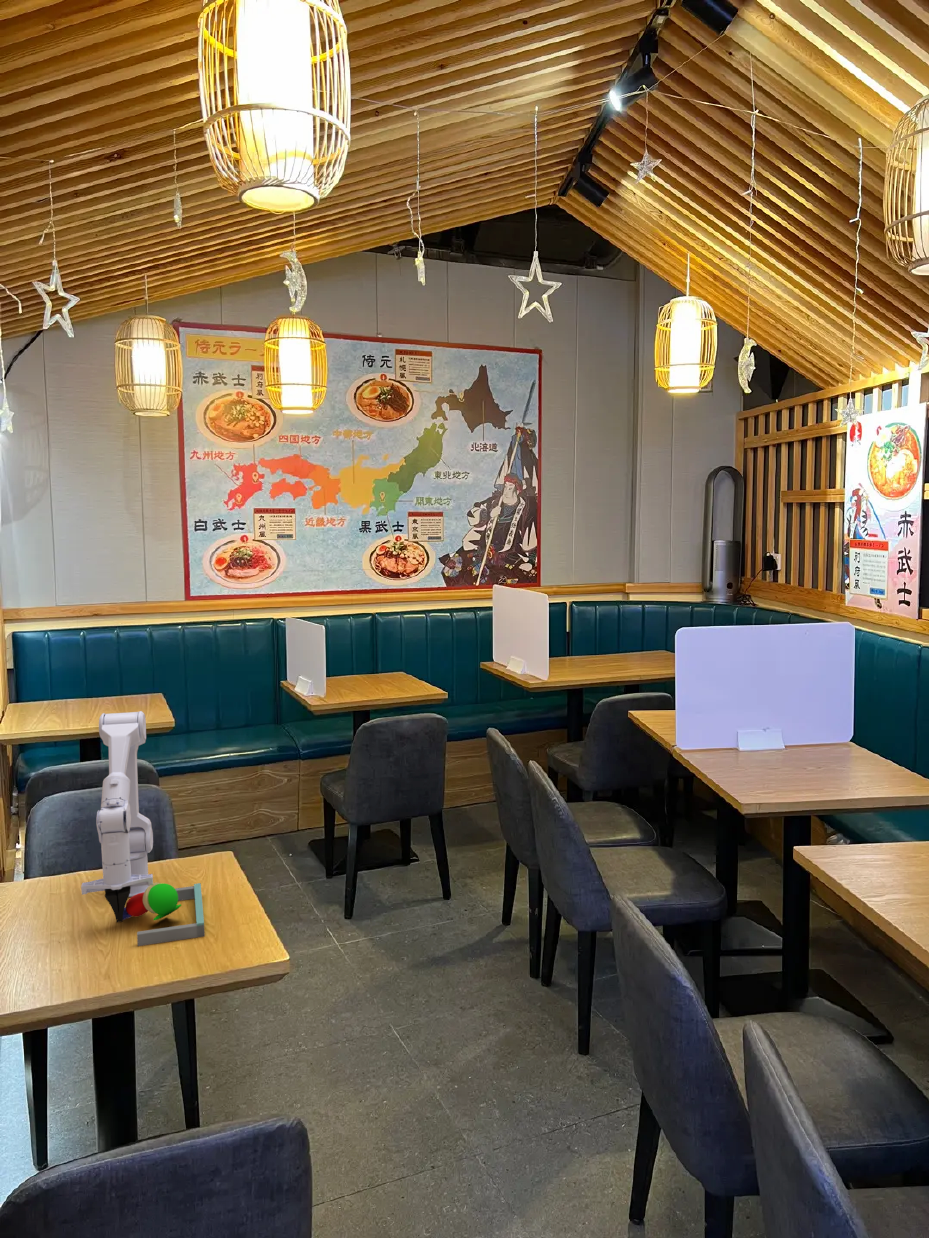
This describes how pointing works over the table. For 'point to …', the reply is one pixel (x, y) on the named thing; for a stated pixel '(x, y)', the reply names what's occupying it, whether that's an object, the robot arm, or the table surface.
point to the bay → (182, 930)
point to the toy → (153, 902)
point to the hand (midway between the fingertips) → (119, 920)
